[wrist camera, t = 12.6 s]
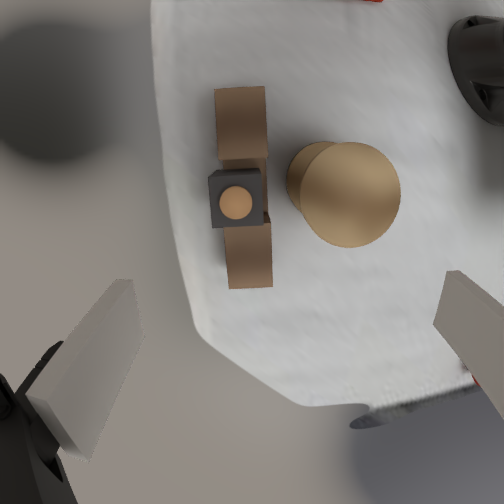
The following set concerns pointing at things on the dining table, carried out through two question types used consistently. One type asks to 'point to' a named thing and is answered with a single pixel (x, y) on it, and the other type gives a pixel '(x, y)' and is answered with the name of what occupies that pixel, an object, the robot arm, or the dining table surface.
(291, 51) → the dining table surface
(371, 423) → the dining table surface
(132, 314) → the robot arm
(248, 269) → the brown wooden u-shaped block
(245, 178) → the dark grey rectangular block
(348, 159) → the wooden spool
